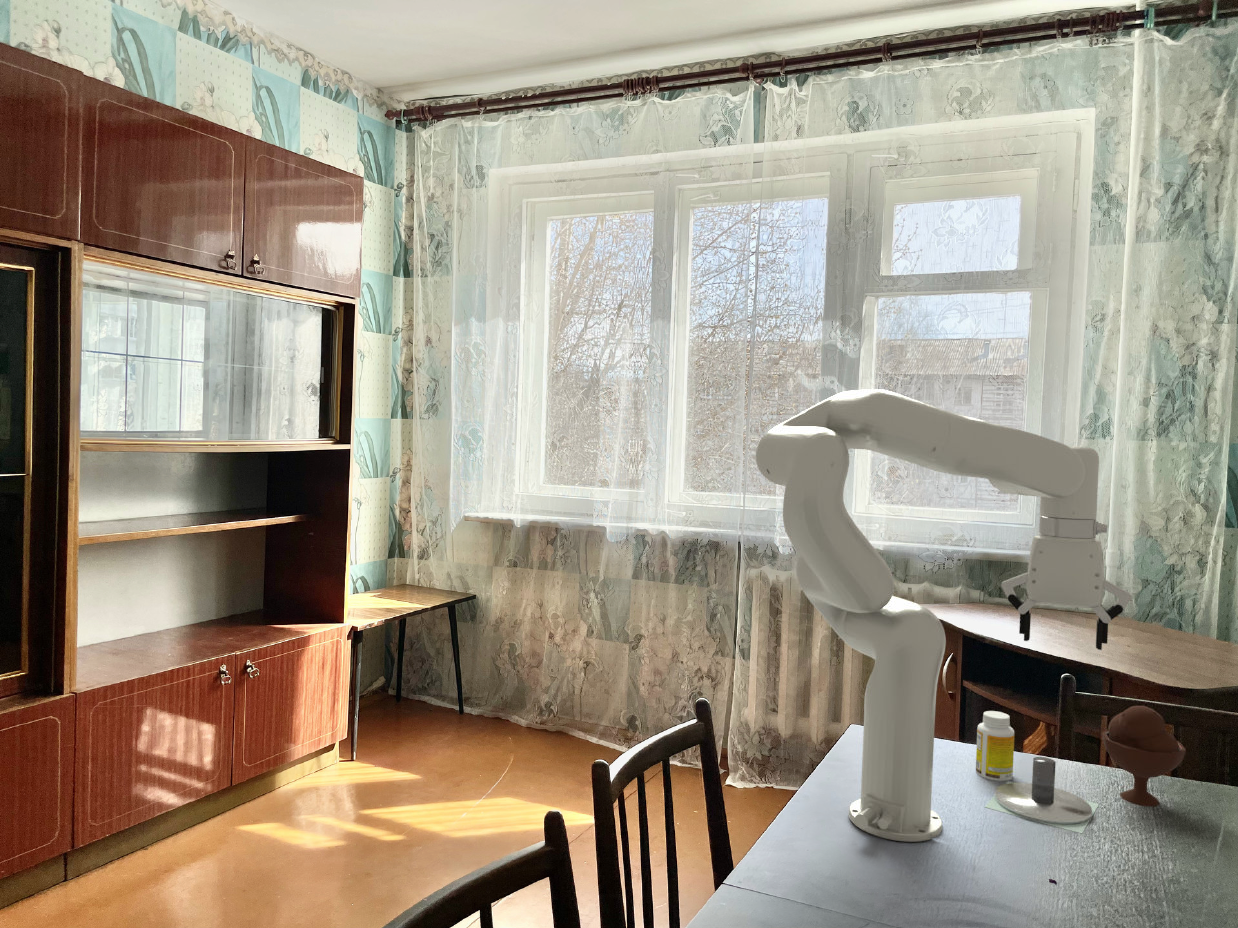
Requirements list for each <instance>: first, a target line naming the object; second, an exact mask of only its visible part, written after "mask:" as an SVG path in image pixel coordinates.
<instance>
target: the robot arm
mask: <svg viewBox="0 0 1238 928" xmlns="http://www.w3.org/2000/svg"><path fill="white" fill-rule="evenodd" d="M850 449H852V450H867V451H872V452H876V453H879V454H881V455H885V456H887V457H891V458H894V459H898V460H902V461H904V462H908V463H910V464H914V465H917V466H920V467H923V468H926V469H929V470H932V471H935V472H939V473H944V474H946V475H947V474H948V475H952V476H953V475H954V476H958V477H968V478H979V479H986V480H988V482H989V483H990V484H991V485H992V486H993V487H994V488H995V489H997V490H999V491H1000V492H1003V493H1006V494H1010V495H1017V496H1018V495H1019V496H1025V497H1026V496H1027V497H1029V496H1031V497H1038V498H1040V499H1039V500H1040V501H1039V502H1040V504H1039V527H1038V528H1039V530H1038V535H1033V538H1032V541H1031V545H1030V551H1029V559H1028V568H1027V572H1025V573H1021V574H1020V575H1017V576H1014V577H1011V578H1009V579H1007V580H1003V581H1002V582H1001V584H1000V586H1001V588H1002V589H1001V590H1003V592H1004V594H1005V596H1006V599H1007V600H1008V602H1009V603H1010V605H1012V606H1013V607H1014V609H1015V610H1016V611H1018V613H1019V627H1018V628H1019V630H1018V631H1019V632H1018V633H1019V634H1020V635H1023V642H1028V641H1030V638H1031V619H1032V618H1031V617H1032V616H1031V615H1032V613H1031V612H1030V610H1031V609H1032V608H1033V607H1034V606H1035V605H1036V604H1043V605H1050V606H1058V607H1060V606H1061V607H1067V608H1068V607H1069V608H1080V609H1091V610H1092V611H1093V612H1094V614H1096V616H1097V617H1098V618H1097V620H1096V629H1095V630H1096V632H1095V648H1096V649H1097V650H1100V651H1102V649H1103V644H1107V645H1108V639H1109V638H1108V637H1109V635H1108V634H1109V623H1111V621H1112V620H1113V619H1115V618H1116V617H1118V616H1119V615H1120V614H1122V613H1123V612H1124V609H1125V608H1126V607H1127V605H1128V604H1129V602H1130V601H1132V597H1133V596H1132V594H1131V592H1129V591H1127V590H1125V589H1123V588H1122V587H1120V586H1117V585H1116V584H1114V583H1112V582H1111V581H1109V580H1107V579H1105V578H1104V573H1105V572H1104V571H1105V570H1104V569H1105V568H1104V567H1105V566H1104V552H1103V545H1102V541H1101V540H1099V539H1096V536H1097V535H1099V534H1107V533H1108V524H1106V523H1105V524H1104V523H1102V522H1099V521H1097V514H1098V513H1097V511H1098V509H1097V508H1098V493H1099V492H1098V489H1099V471H1100V470H1099V468H1100V466H1099V465H1100V457H1099V453H1098V451H1097V450H1096V449H1094V448H1091V447H1087V446H1070V445H1067V444H1064V443H1062V442H1059V441H1057V440H1053V439H1050V438H1048V437H1044V436H1042V435H1039V434H1036V433H1032V432H1029V431H1025V430H1021V429H1016V428H1013V427H1010V426H1009V427H1008V426H1005V425H1000V424H996V423H993V422H989V421H985V420H982V419H978V418H975V417H970V416H965V415H961V414H958V413H955V412H953V411H949V410H946V409H943V408H939V407H936V406H934V405H931V404H928V403H925V402H922V401H919V400H918V399H915V398H910V397H907V396H905V395H902V394H899V393H896V392H893V391H890V390H886V389H879V388H878V389H877V388H876V389H875V388H872V389H869V388H868V389H858V390H848V391H842V392H838V393H837V394H835V395H833V396H830V397H828V398H827V399H824V400H822V401H821V402H818V403H816V404H815V405H813V406H811V407H810V408H808V409H806V410H803V411H802V412H800V413H799V414H797V415H794V416H792V417H790V418H789V419H787V420H784V421H783V422H780V424H777V425H775V426H774V427H773V428H771V429H770V430H768V431H767V432H766V433H765V434H764V435H763V436H762V437H761V439H760V440H759V442H758V443H757V448H756V449H755V450H756V451H755V461H756V466H757V468H758V470H759V472H760V473H761V475H762V476H763V477H764V478H765V479H767V480H768V481H769V482H771V483H773V484H776V485H778V486H784V487H785V489H784V494H783V495H784V496H783V502H782V503H783V504H782V521H783V527H784V530H785V532H786V535H787V537H788V539H789V540H790V542H791V544H792V545H793V547H794V548H795V550H796V551H797V552H798V554H799V555H798V557H797V560H796V570H795V571H796V577H797V581H798V585H799V587H800V589H801V590H802V592H803V594H804V595H805V597H806V598H807V599H808V601H809V602H810V603H811V604H812V606H813V607H814V608H815V609H816V611H817V612H818V613H819V614H820V615H821V616H822V618H823V619H824V620H825V621H826V622H827V624H828V625H829V626H830V628H832V629H833V631H834V632H835V633H836V634H837V637H839V638H840V639H841V640H842V641H843V642H844V643H845V644H846V645H848V646H849V647H850V648H852V649H853V650H855V651H857V652H859V653H861V654H862V655H863V654H864V655H865V656H867V657H870V658H872V659H873V660H874V662H875V663H874V665H873V669H872V672H871V673H870V676H869V679H868V681H867V684H866V686H865V692H864V693H865V694H864V701H863V703H864V705H863V710H864V713H863V735H862V736H863V737H862V762H861V763H862V764H861V784H860V785H861V787H860V788H861V789H860V798H858V799H857V800H855V801H853V802H851V804H850V805H849V808H848V818H849V819H850V821H851V822H852V823H853V824H854V825H855V826H856V827H858V828H859V829H860V830H862V831H864V832H866V833H867V834H869V835H873V836H875V837H879V838H883V839H886V840H892V841H897V842H906V843H907V842H911V843H912V842H913V843H914V842H924V841H929V840H933V839H934V838H936V837H938V836H939V835H940V834H941V833H942V830H943V820H942V818H941V817H940V816H939V814H938V813H936V812H935V811H934V810H932V791H933V790H932V788H933V769H934V750H935V749H934V745H935V744H934V742H935V724H936V723H935V722H936V721H935V720H936V705H937V704H936V702H937V701H936V700H937V690H938V689H937V688H938V681H939V675H940V671H941V667H942V664H943V660H944V656H945V652H946V645H947V640H946V639H947V638H946V633H945V629H944V626H943V624H942V622H941V621H940V619H939V618H938V616H937V615H935V613H934V612H933V611H932V610H930V609H929V608H927V607H926V606H924V605H921V604H919V603H916V602H914V601H911V600H909V599H906V598H905V599H904V598H901V597H898V596H894V592H895V580H894V575H893V574H892V570H891V568H890V567H889V565H888V564H887V562H886V561H885V560H884V558H883V557H882V556H881V555H880V553H879V552H878V551H877V550H876V549H875V547H874V545H872V544H871V541H869V540H868V538H867V537H866V536H865V535H864V533H863V532H862V530H860V528H859V527H858V526H857V525H856V523H855V521H854V520H853V518H852V517H851V516H850V514H849V513H848V511H847V509H846V506H845V502H844V493H845V492H844V490H845V486H846V485H845V484H846V481H847V476H848V472H849V467H850V454H849V450H850ZM1024 584H1026V594H1027V597H1026V598H1025V599H1024V600H1021V598H1019V596H1018V595H1017V594H1016V593H1015V590H1014V588H1015V587H1017V586H1021V585H1024ZM1104 591H1106V592H1108V593H1110V594H1111V595H1114V596H1115V597H1117V600H1116V602H1115V603H1114V604H1112V606H1110V607H1109V608H1108V609H1106V607H1104V606H1103V601H1104V600H1103V599H1104Z"/></svg>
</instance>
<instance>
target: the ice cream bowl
mask: <svg viewBox="0 0 1238 928" xmlns="http://www.w3.org/2000/svg"><path fill="white" fill-rule="evenodd" d="M1101 735H1102V742H1103V745H1104V747H1105V749H1106V751H1107V753H1108V755H1109V756H1110V758H1111V759H1112V761H1114V762H1115V764H1116V765H1117V766H1118V767H1120V769H1123V770H1124V771H1125V772H1128V773H1129V774H1132V777H1133V778H1134V779H1133V780H1134V782H1133V788H1132V789H1128V790H1126V791H1123V792H1120V794H1119V796H1120V797H1121V799H1122V800H1124V801H1126V802H1128V803H1130V804H1133V805H1138V806H1142V807H1152V808H1153V807H1157V806H1159V805H1161V803H1160V800H1159V799H1158V798H1157V797H1155V795H1153V794H1151V793H1150V792H1149V791H1148V782H1149V780H1150V779H1151V778H1158V777H1160V776H1163V775H1165V774H1168V773H1169V772H1171V771H1173V770H1174V769H1176V768H1177V767H1179V766H1180V764H1181V763H1182V761H1183V760H1184V758H1185V755H1186V751H1187V749H1186V747H1185V746H1184V745H1183V744H1182V743H1181V742H1180V741H1179V740H1177V739H1176V738H1175V736H1174V735H1172V734H1171V733H1170V732H1168V731H1167V730H1166V721H1165V718H1163V716H1162V715H1161V714H1160V713H1159V712H1157V711H1156V710H1154V709H1153V708H1150V707H1148V706H1145V705H1133V706H1130V707H1128V708H1127V709H1125V710H1124V711H1123V712H1119V713H1118V714H1116V715H1115V716H1113V718H1112V719H1111V720H1110V721H1109V724H1108V727H1107V730H1105V731H1102V732H1101Z"/></svg>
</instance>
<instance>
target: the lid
mask: <svg viewBox="0 0 1238 928" xmlns="http://www.w3.org/2000/svg"><path fill="white" fill-rule="evenodd" d="M1032 761H1033V762H1032V776H1031V778H1032V779H1031V783H1030V782H1014V783H1010V784H1005V783H1004V784H1002V785H1000V786H998V787H996V788H995V792H994V796H995V799H996V801H997V803H998V804H999V805H1000V806H1002V807H1003V808H1005V809H1006V810H1008V811H1010V812H1012V813H1014V814H1016V815H1019V816H1022V817H1024V818H1023V819H1026V818H1028V819H1027V820H1029V819H1031V820H1030V821H1033V820H1035V821H1034V822H1037V821H1039V822H1038V823H1040V822H1044V823H1050V824H1060V825H1074V824H1081V823H1084V822H1087V821H1088V820H1090V821H1091V820H1092V818H1091V816H1092V808H1091V806H1090V805H1089V804H1088V803H1087V802H1086V801H1087V800H1085V799H1083V798H1082V797H1080V796H1078V795H1076V794H1074V793H1071V792H1069V791H1066V790H1063V789H1060V788H1057V787H1055V786H1056V785H1055V784H1056V783H1055V782H1056V763H1057V762H1056V760H1053V759H1052V758H1049V757H1044V756H1034V757H1033V760H1032ZM1022 817H1021V818H1022ZM1092 817H1093V816H1092ZM1044 823H1043V824H1044Z"/></svg>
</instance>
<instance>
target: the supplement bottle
mask: <svg viewBox="0 0 1238 928" xmlns="http://www.w3.org/2000/svg"><path fill="white" fill-rule="evenodd" d="M1010 717H1011V716H1010V715H1009V714H1007V713H1004V712H1002V711H995V710H987V711H984V712H983V715H982V722H980V723H979V724H978V725H977V729H976V749H975V750H976V752H975V755H976V756H975V772H976V774H977V775H978V776H979V777H982V778H984V779H986V780H990V781H996V782H1007V781H1010V780H1012V779H1013V773H1014V755H1015V753H1014V751H1015V730H1014V728H1013V727H1011V725H1010V724H1011V722H1010V720H1011V718H1010Z"/></svg>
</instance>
